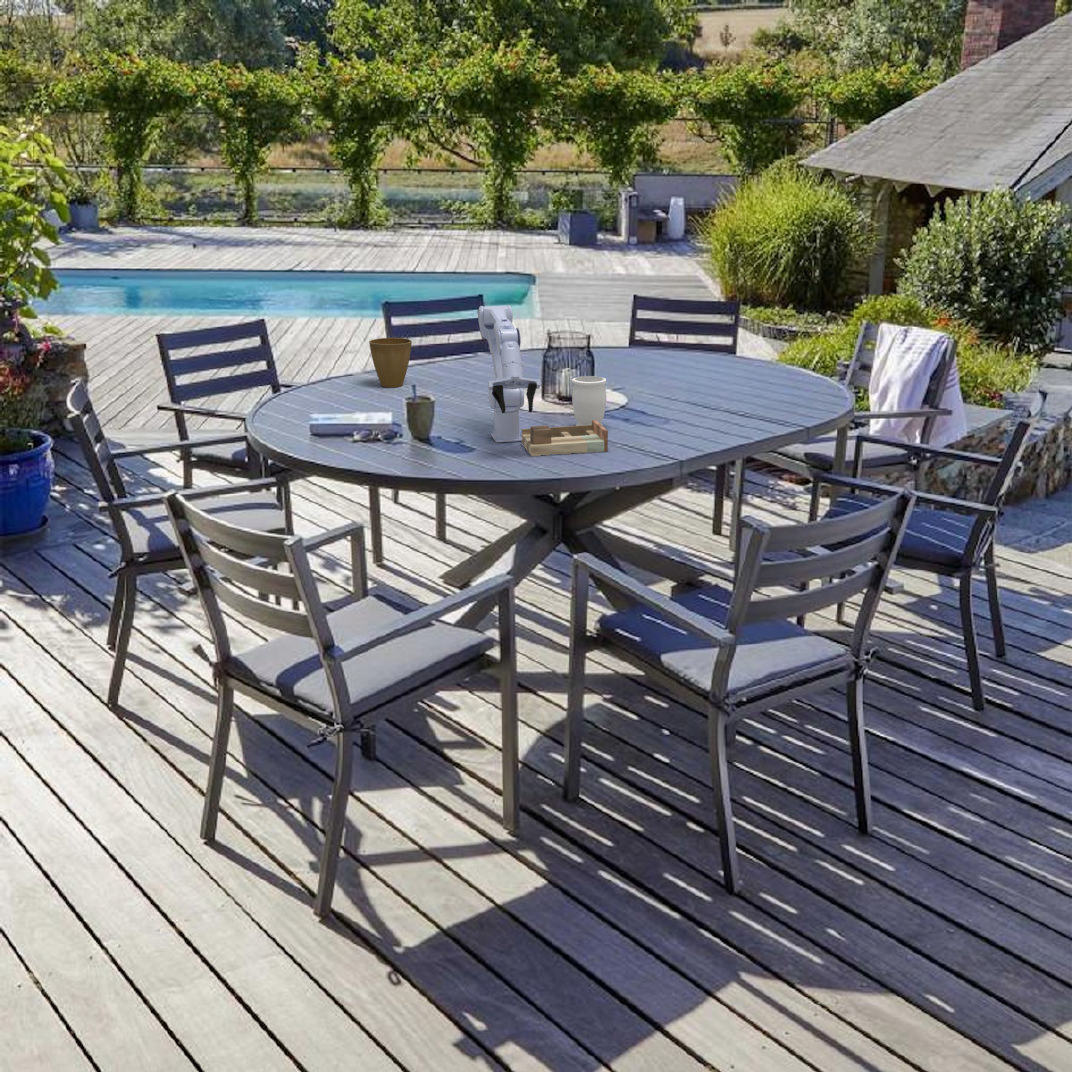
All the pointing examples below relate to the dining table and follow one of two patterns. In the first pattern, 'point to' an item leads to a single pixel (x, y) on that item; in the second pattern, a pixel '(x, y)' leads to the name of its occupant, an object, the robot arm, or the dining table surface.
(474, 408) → the dining table surface
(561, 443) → the trap box
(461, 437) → the dining table surface
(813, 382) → the dining table surface
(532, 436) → the walnut block
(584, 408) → the jar
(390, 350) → the plant pot
